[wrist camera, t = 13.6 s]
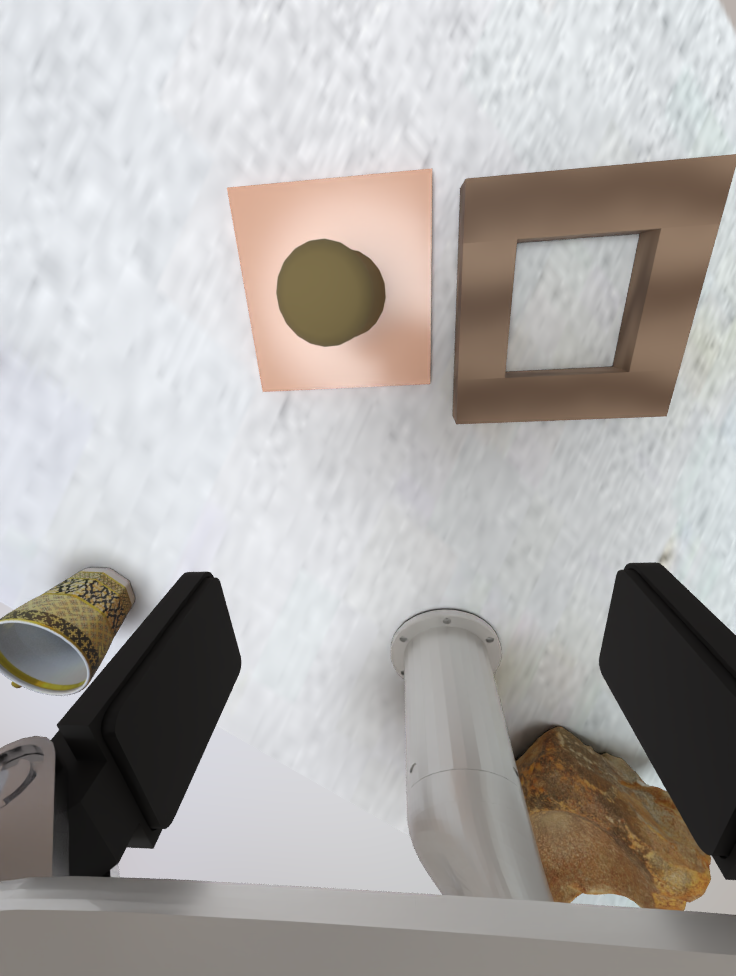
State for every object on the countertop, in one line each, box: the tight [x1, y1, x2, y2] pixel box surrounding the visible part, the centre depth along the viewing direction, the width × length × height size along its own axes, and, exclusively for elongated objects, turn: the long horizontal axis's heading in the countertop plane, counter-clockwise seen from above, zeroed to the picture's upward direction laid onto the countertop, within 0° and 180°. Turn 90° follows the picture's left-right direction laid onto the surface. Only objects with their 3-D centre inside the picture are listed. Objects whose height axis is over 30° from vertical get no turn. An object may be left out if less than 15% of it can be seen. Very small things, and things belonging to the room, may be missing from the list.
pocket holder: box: [452, 154, 736, 424], centre depth 29 cm, size 16×16×2 cm
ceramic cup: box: [0, 567, 135, 696], centre depth 42 cm, size 13×10×10 cm
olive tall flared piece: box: [276, 239, 386, 347], centre depth 25 cm, size 6×6×11 cm
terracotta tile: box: [227, 169, 432, 392], centre depth 30 cm, size 14×14×1 cm
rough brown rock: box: [515, 727, 711, 911], centre depth 48 cm, size 23×17×15 cm
